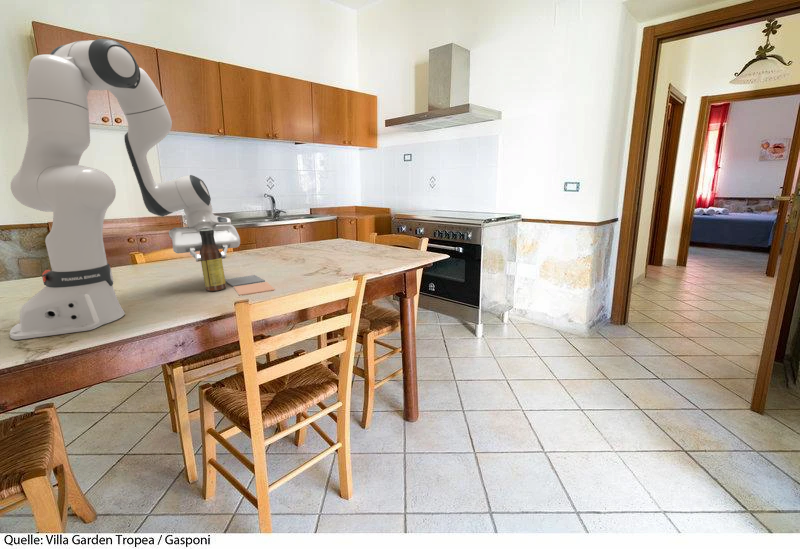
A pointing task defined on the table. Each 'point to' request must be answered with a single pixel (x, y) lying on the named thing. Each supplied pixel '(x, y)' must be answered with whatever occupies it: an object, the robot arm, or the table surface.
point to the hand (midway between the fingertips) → (211, 259)
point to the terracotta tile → (253, 288)
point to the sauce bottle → (211, 262)
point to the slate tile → (244, 280)
